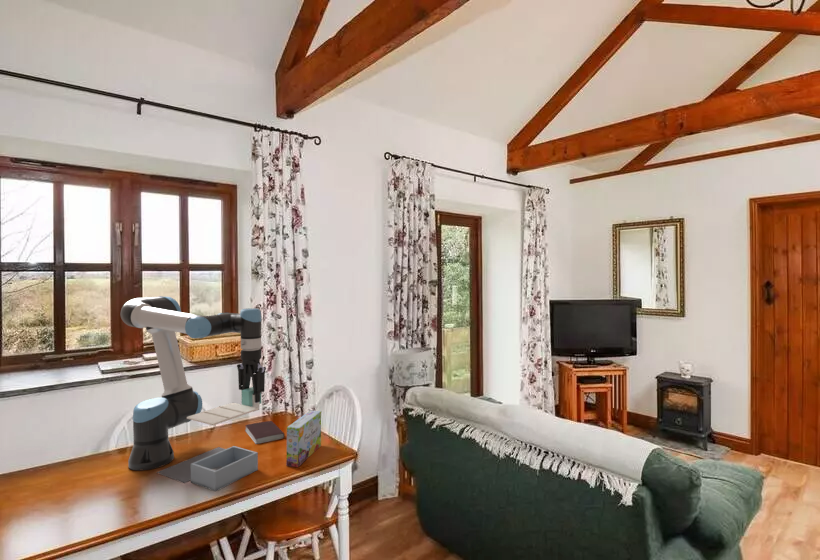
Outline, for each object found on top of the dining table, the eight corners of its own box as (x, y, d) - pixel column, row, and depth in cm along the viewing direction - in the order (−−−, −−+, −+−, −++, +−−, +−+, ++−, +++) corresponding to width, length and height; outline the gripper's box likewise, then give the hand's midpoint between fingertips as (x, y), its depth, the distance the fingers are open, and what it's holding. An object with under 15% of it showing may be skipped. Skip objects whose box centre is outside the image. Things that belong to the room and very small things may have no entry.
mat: (156, 473, 160) (156, 472, 160) (218, 447, 182) (218, 447, 182) (184, 483, 152) (184, 482, 152) (245, 455, 175) (245, 454, 175)
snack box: (299, 468, 164) (299, 428, 163) (285, 466, 165) (285, 427, 164) (322, 445, 184) (321, 410, 184) (309, 444, 185) (309, 409, 185)
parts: (201, 478, 154) (200, 472, 154) (233, 463, 166) (233, 458, 166) (218, 484, 149) (218, 478, 149) (250, 468, 161) (250, 463, 161)
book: (272, 426, 209) (272, 419, 209) (284, 439, 193) (284, 431, 193) (244, 432, 202) (244, 424, 202) (255, 445, 186) (255, 438, 186)
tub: (190, 482, 152) (190, 463, 152) (234, 462, 168) (233, 445, 168) (215, 491, 146) (215, 472, 146) (257, 469, 162) (257, 452, 162)
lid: (186, 418, 152) (186, 401, 152) (245, 400, 174) (245, 385, 174) (213, 425, 145) (212, 407, 145) (270, 405, 167) (270, 389, 167)
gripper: (227, 348, 168) (228, 408, 169) (259, 352, 160) (259, 416, 160) (243, 345, 175) (244, 403, 175) (274, 349, 167) (275, 410, 167)
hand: (251, 409), depth 168 cm, fingers closed on lid, 4 cm apart
